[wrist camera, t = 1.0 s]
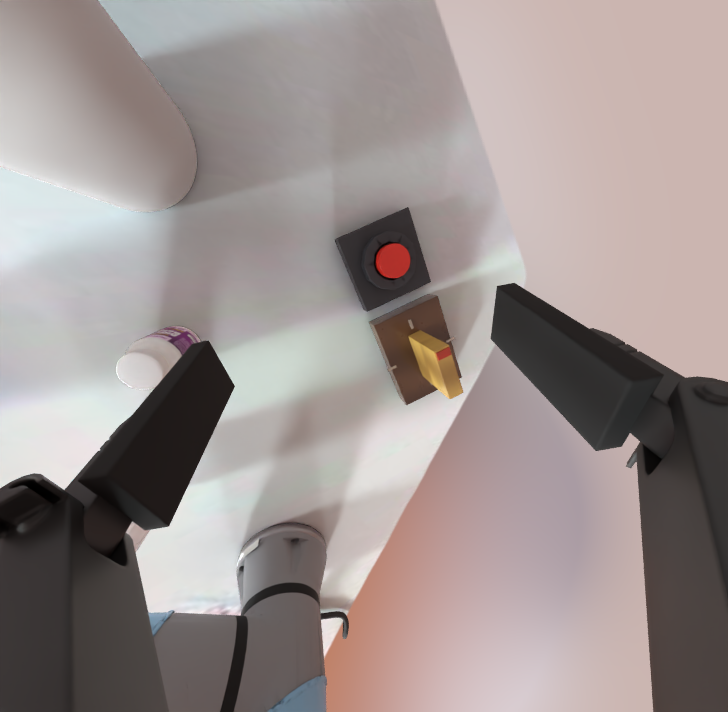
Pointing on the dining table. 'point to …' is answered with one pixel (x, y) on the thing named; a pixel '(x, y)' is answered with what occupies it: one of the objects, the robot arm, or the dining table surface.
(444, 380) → the lock handle
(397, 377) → the panel
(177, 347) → the pill bottle
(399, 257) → the button
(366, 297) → the button box
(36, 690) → the robot arm
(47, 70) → the cylinder vase
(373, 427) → the dining table surface
